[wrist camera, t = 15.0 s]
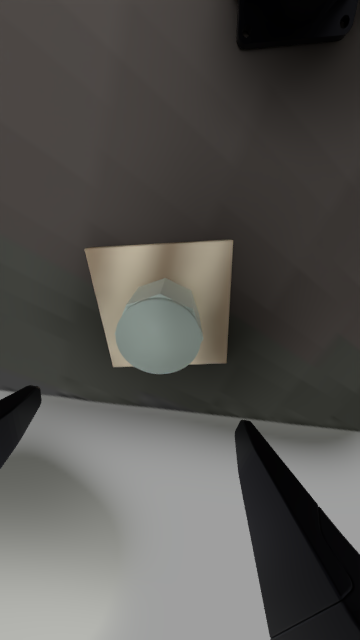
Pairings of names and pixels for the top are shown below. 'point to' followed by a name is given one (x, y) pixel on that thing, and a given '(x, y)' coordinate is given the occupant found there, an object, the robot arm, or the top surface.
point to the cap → (160, 328)
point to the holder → (176, 265)
